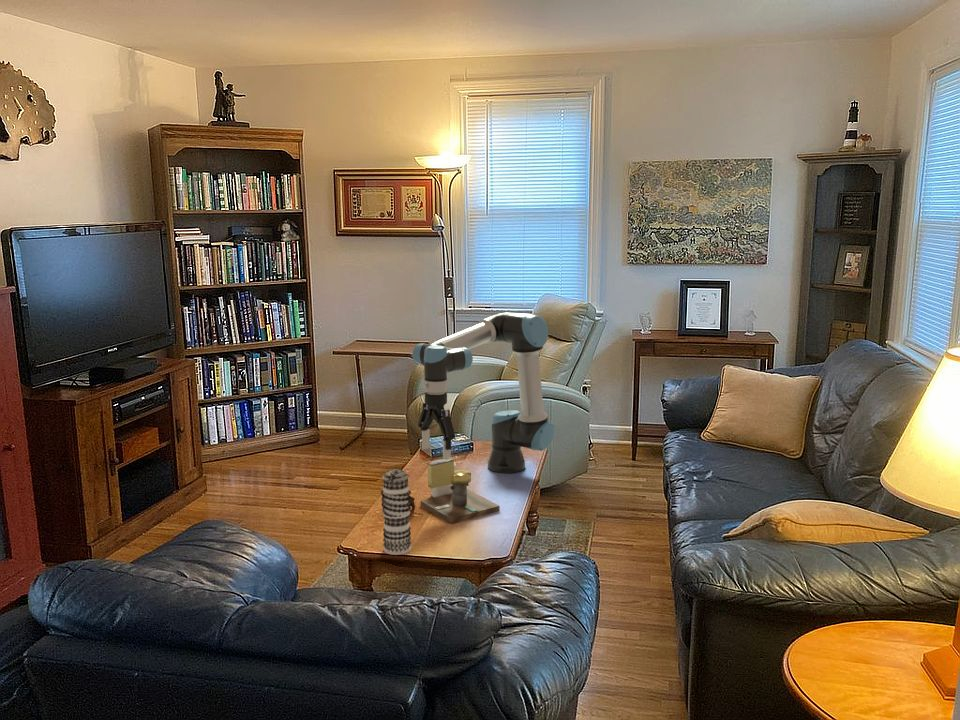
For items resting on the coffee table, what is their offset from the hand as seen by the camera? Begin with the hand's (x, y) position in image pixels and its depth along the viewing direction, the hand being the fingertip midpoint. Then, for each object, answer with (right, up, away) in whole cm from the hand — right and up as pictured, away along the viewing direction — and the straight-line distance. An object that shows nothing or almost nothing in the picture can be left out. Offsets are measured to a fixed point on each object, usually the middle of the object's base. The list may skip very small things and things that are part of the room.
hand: (436, 453), depth 268 cm
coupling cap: (+4, -11, +5) cm, 13 cm away
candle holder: (+1, -18, +22) cm, 29 cm away
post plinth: (+8, -20, +9) cm, 24 cm away
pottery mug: (-12, -22, +5) cm, 25 cm away
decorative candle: (-11, -27, -23) cm, 37 cm away
